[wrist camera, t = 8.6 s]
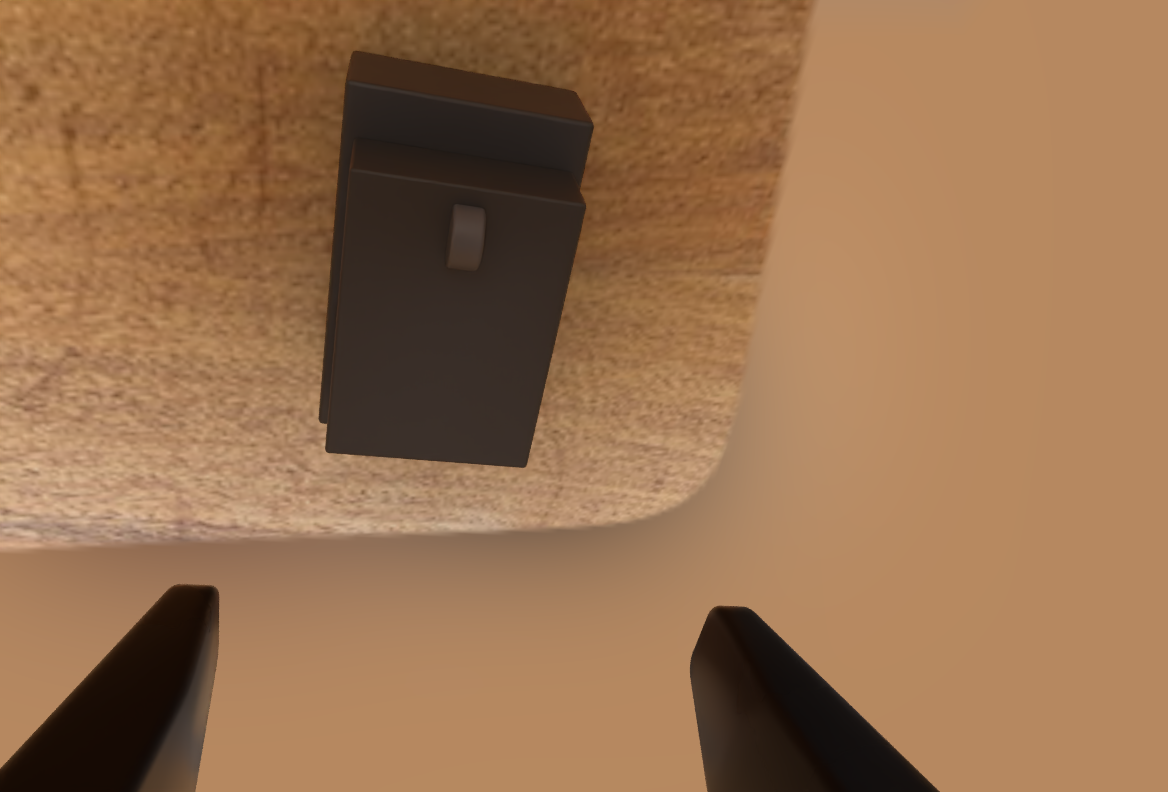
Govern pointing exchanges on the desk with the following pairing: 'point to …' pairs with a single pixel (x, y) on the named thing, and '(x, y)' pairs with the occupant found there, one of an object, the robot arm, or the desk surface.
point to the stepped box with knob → (448, 260)
